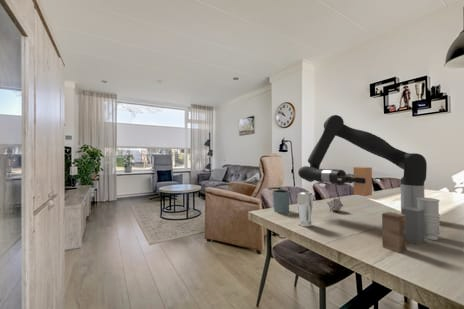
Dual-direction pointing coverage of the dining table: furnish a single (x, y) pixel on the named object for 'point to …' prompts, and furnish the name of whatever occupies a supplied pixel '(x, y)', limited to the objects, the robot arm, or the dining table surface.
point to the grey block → (414, 224)
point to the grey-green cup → (281, 200)
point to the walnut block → (394, 231)
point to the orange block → (363, 188)
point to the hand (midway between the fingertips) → (368, 180)
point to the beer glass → (305, 208)
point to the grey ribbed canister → (430, 216)
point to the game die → (335, 204)
